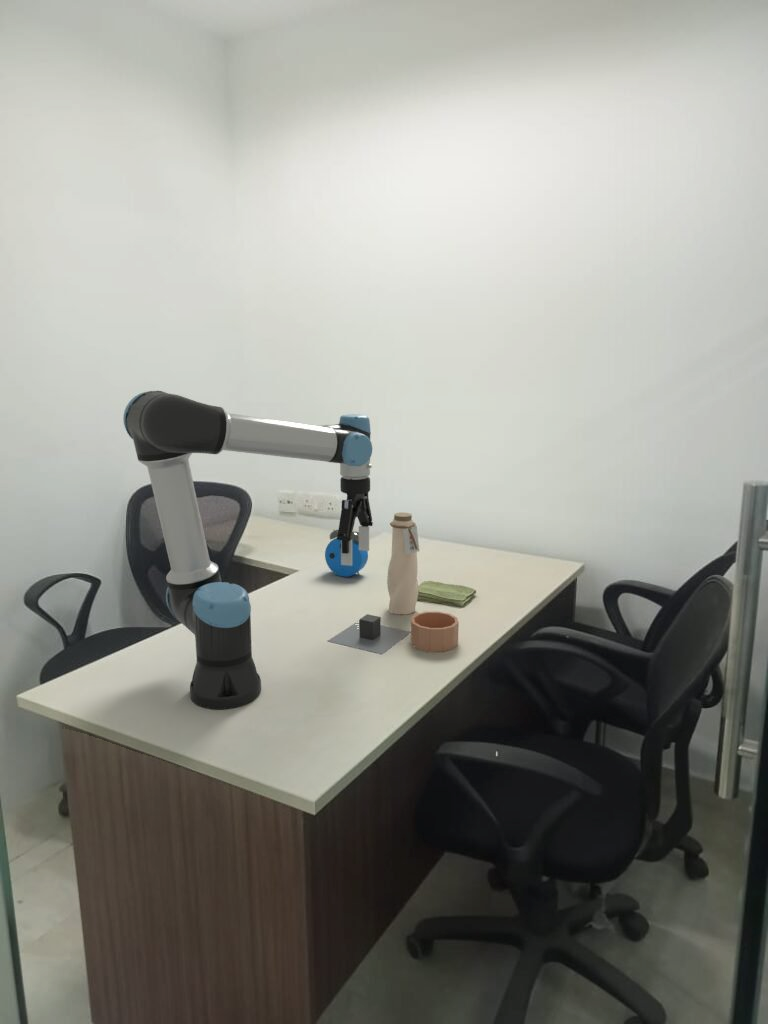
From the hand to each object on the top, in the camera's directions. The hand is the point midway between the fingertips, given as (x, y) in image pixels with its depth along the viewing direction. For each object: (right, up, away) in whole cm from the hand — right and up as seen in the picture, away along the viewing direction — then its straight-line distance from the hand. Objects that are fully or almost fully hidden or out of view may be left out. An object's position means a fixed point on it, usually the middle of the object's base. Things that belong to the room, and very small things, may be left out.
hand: (355, 557), depth 186 cm
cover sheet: (+4, -21, +1) cm, 22 cm away
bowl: (+20, -21, -2) cm, 30 cm away
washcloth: (+25, -14, +31) cm, 42 cm away
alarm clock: (-5, -9, +50) cm, 51 cm away
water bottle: (+13, -16, +19) cm, 29 cm away
